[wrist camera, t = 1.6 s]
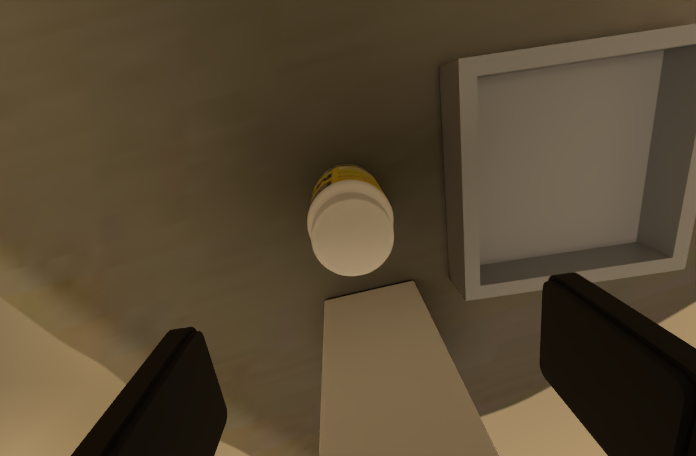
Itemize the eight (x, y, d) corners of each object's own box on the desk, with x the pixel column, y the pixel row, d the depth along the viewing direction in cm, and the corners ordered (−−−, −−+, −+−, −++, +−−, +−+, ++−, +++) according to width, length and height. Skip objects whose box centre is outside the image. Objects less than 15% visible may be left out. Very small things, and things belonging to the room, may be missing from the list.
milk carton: (344, 370, 29) (366, 795, 11) (324, 298, 27) (308, 687, 9) (427, 352, 29) (588, 755, 11) (413, 278, 26) (588, 633, 8)
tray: (439, 67, 22) (458, 58, 18) (673, 32, 22) (735, 17, 18) (449, 277, 26) (465, 301, 23) (640, 249, 26) (684, 268, 23)
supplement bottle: (322, 154, 23) (317, 177, 15) (388, 173, 24) (417, 204, 16) (305, 220, 24) (293, 271, 17) (368, 236, 25) (385, 293, 17)
